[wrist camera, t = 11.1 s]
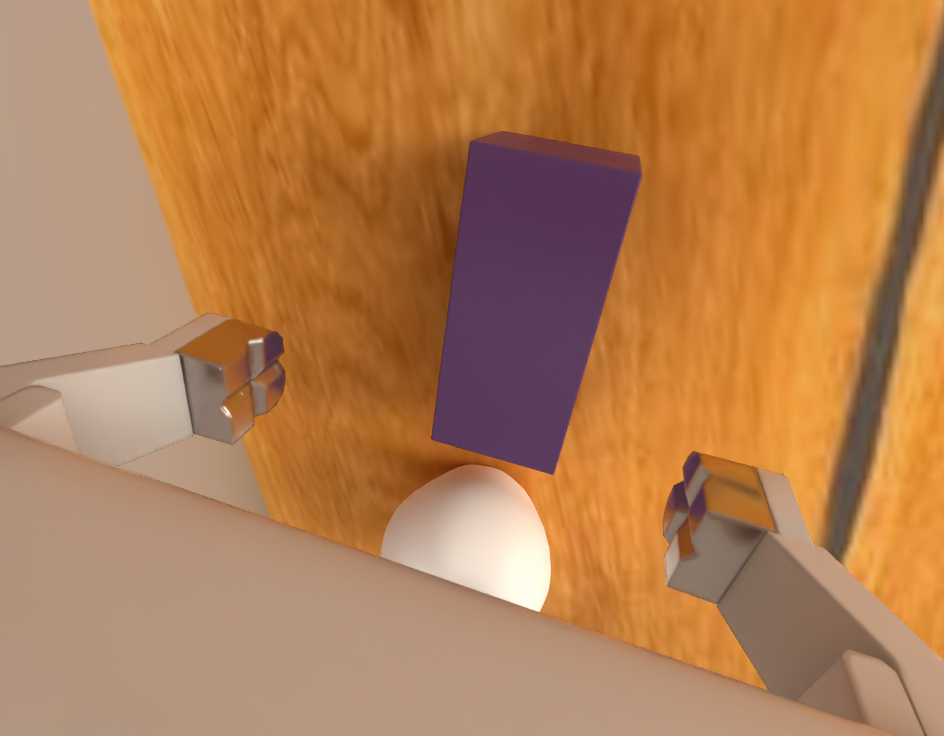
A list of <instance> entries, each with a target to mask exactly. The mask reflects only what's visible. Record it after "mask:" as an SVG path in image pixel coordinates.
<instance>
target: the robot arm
mask: <svg viewBox="0 0 944 736" xmlns="http://www.w3.org/2000/svg"><path fill="white" fill-rule="evenodd" d="M283 353H284V347H283V338H282V337H281V336H280V335H279V333H278V332H275V331H272V330H268V329H265V328H262V327H259V326H255V325H252V324H249V323H246V322H242V321H239V320H236V319H232V318H229V317H226V316H222V315H218V314H215V313H205V314H203V315H202V316H200V317H198V318H196V319H194V320H193V321H191V322H189V323H187V324H185V325H184V326H182V327H180V328H178V329H176V330H174V331H173V332H171V333H169V334H167V335H165V336H163V337H162V338H160V339H158V340H156V341H154V342H153V343H151V344H149V345H147V344H143V343H137V344H131V345H125V346H120V347H113V348H107V349H101V350H96V351H89V352H83V353H77V354H71V355H64V356H59V357H52V358H46V359H40V360H34V361H28V362H22V363H16V364H11V365H4V366H0V736H944V660H942V659H941V658H940V657H939V656H938V655H937V654H936V653H935V652H934V651H933V650H932V649H931V648H930V647H929V646H928V645H926V644H925V643H924V642H923V641H922V640H921V639H920V638H919V637H918V636H917V635H916V634H915V633H914V632H913V631H912V630H911V629H909V628H908V627H907V626H906V625H905V624H904V623H903V622H902V621H901V620H900V619H899V618H898V617H897V616H896V615H895V614H893V613H892V612H891V611H890V610H889V609H888V608H887V607H886V606H885V605H884V604H883V603H882V602H881V601H880V600H879V599H877V598H876V597H875V596H874V595H873V594H872V593H871V592H870V591H869V590H868V589H867V588H866V587H865V586H864V585H863V584H862V583H860V582H859V581H858V580H857V579H856V578H855V577H854V576H853V575H852V574H851V573H850V572H849V571H848V570H847V569H846V568H844V567H843V566H842V565H841V564H840V563H839V562H838V561H837V560H836V559H835V558H834V557H833V556H832V555H831V554H830V553H828V552H827V551H826V550H825V549H824V548H823V547H820V546H817V545H813V542H812V540H811V537H810V535H809V532H808V529H807V527H806V524H805V521H804V519H803V516H802V514H801V511H800V508H799V506H798V503H797V501H796V498H795V495H794V493H793V490H792V488H791V485H790V482H789V480H788V478H787V477H786V476H785V475H784V474H782V473H778V472H774V471H770V470H766V469H762V468H758V467H754V466H749V465H745V464H741V463H737V462H734V461H730V460H726V459H722V458H719V457H715V456H711V455H707V454H703V453H700V452H696V451H693V452H692V453H691V454H690V455H689V456H688V458H687V460H686V462H685V464H684V466H683V476H684V481H682V482H680V483H678V484H676V485H674V486H673V488H672V491H671V493H670V495H669V497H668V499H667V503H666V507H665V511H664V517H663V536H664V537H665V538H666V540H667V541H668V542H669V544H670V545H669V547H668V549H667V551H666V553H665V555H664V558H665V573H666V586H667V587H669V588H672V589H675V590H678V591H681V592H684V593H686V594H689V595H692V596H695V597H698V598H701V599H703V600H706V601H709V602H712V603H715V604H718V605H717V608H718V609H719V611H720V613H721V614H722V616H723V617H724V619H725V621H726V622H727V624H728V626H729V627H730V629H731V630H732V632H733V634H734V635H735V637H736V638H737V640H738V642H739V643H740V645H741V646H742V648H743V650H744V651H745V653H746V654H747V656H748V658H749V659H750V661H751V663H752V664H753V666H754V667H755V669H756V671H757V672H758V674H759V675H760V677H761V679H762V680H763V682H764V683H765V685H766V687H767V688H768V690H769V691H767V690H764V689H761V688H758V687H755V686H752V685H749V684H746V683H744V682H741V681H738V680H735V679H732V678H729V677H726V676H723V675H720V674H718V673H715V672H712V671H709V670H706V669H703V668H700V667H697V666H694V665H691V664H688V663H685V662H683V661H680V660H677V659H674V658H671V657H668V656H665V655H662V654H659V653H656V652H653V651H650V650H648V649H645V648H642V647H639V646H636V645H633V644H630V643H627V642H624V641H621V640H618V639H615V638H613V637H610V636H607V635H604V634H601V633H598V632H595V631H592V630H589V629H587V628H584V627H581V626H578V625H575V624H572V623H569V622H566V621H564V620H561V619H558V618H555V617H552V616H549V615H546V614H544V613H541V612H538V611H535V610H532V609H529V608H526V607H523V606H521V605H518V604H515V603H512V602H509V601H506V600H503V599H500V598H498V597H495V596H492V595H489V594H486V593H483V592H480V591H477V590H475V589H472V588H469V587H466V586H463V585H460V584H457V583H455V582H452V581H449V580H446V579H443V578H440V577H437V576H434V575H432V574H429V573H426V572H423V571H420V570H417V569H414V568H411V567H408V566H405V565H403V564H400V563H397V562H394V561H391V560H388V559H385V558H382V557H379V556H376V555H374V554H371V553H368V552H365V551H362V550H359V549H356V548H353V547H350V546H347V545H345V544H342V543H339V542H336V541H333V540H330V539H327V538H324V537H321V536H318V535H316V534H313V533H310V532H307V531H304V530H301V529H298V528H295V527H292V526H289V525H287V524H284V523H281V522H278V521H275V520H272V519H269V518H266V517H263V516H260V515H258V514H254V513H252V512H249V511H246V510H243V509H240V508H237V507H234V506H232V505H229V504H226V503H223V502H220V501H217V500H214V499H211V498H208V497H206V496H203V495H200V494H197V493H194V492H191V491H188V490H185V489H182V488H179V487H177V486H174V485H171V484H168V483H165V482H162V481H159V480H156V479H153V478H151V477H148V476H145V475H142V474H139V473H136V472H133V471H130V470H128V469H124V468H122V467H119V466H120V465H122V464H125V463H127V462H130V461H132V460H135V459H137V458H140V457H142V456H144V455H147V454H149V453H152V452H154V451H157V450H159V449H162V448H164V447H167V446H169V445H172V444H174V443H177V442H179V441H182V440H184V439H187V438H189V437H191V436H193V434H196V435H200V436H203V437H207V438H210V439H213V440H217V441H221V442H224V443H227V444H230V445H234V444H235V443H236V442H237V441H238V440H239V439H240V438H241V437H242V436H243V435H245V434H246V433H247V432H248V431H249V430H250V429H251V428H252V427H253V426H254V417H256V416H259V415H262V414H266V413H268V412H269V411H271V410H272V409H273V408H274V407H275V406H276V405H277V403H278V401H279V399H280V397H281V395H282V394H283V391H284V386H285V370H284V369H283V367H282V365H281V364H280V362H279V361H278V359H279V357H280V356H281V355H282V354H283Z"/></svg>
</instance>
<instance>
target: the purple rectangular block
mask: <svg viewBox="0 0 944 736" xmlns="http://www.w3.org/2000/svg"><path fill="white" fill-rule="evenodd" d="M641 178H642V171H641V165H640V159H639V156H635V155H630V154H624V153H619V152H614V151H608V150H603V149H597V148H592V147H587V146H581V145H576V144H570V143H565V142H560V141H554V140H549V139H543V138H538V137H533V136H527V135H522V134H516V133H511V132H506V131H501V132H498V133H495V134H492V135H489V136H485V137H482V138H479V139H476V140H473V141H470V145H469V152H468V160H467V168H466V175H465V183H464V191H463V198H462V206H461V214H460V221H459V229H458V237H457V244H456V252H455V260H454V268H453V275H452V283H451V291H450V298H449V306H448V314H447V321H446V329H445V337H444V344H443V352H442V360H441V367H440V375H439V383H438V391H437V398H436V406H435V414H434V421H433V429H432V437H431V439H432V440H434V441H437V442H441V443H444V444H448V445H451V446H455V447H458V448H462V449H465V450H469V451H472V452H476V453H479V454H483V455H486V456H489V457H493V458H496V459H500V460H503V461H507V462H510V463H514V464H517V465H521V466H524V467H528V468H531V469H534V470H538V471H541V472H545V473H548V474H552V475H553V474H554V472H555V469H556V466H557V462H558V459H559V455H560V452H561V449H562V445H563V442H564V439H565V435H566V432H567V428H568V425H569V422H570V418H571V415H572V411H573V408H574V405H575V401H576V398H577V395H578V391H579V388H580V384H581V381H582V378H583V374H584V371H585V367H586V364H587V361H588V357H589V354H590V350H591V347H592V344H593V340H594V337H595V334H596V330H597V327H598V323H599V320H600V317H601V313H602V310H603V306H604V303H605V300H606V296H607V293H608V289H609V286H610V283H611V279H612V276H613V273H614V269H615V266H616V262H617V259H618V256H619V252H620V249H621V245H622V242H623V239H624V235H625V232H626V228H627V225H628V222H629V218H630V215H631V212H632V208H633V205H634V201H635V198H636V195H637V191H638V188H639V184H640V181H641Z"/></svg>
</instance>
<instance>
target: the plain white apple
mask: <svg viewBox="0 0 944 736" xmlns="http://www.w3.org/2000/svg"><path fill="white" fill-rule="evenodd" d="M381 557H382V558H385V559H388V560H391V561H394V562H397V563H400V564H403V565H405V566H408V567H411V568H414V569H417V570H420V571H423V572H426V573H429V574H432V575H434V576H437V577H440V578H443V579H446V580H449V581H452V582H455V583H457V584H460V585H463V586H466V587H469V588H472V589H475V590H477V591H480V592H483V593H486V594H489V595H492V596H495V597H498V598H500V599H503V600H506V601H509V602H512V603H515V604H518V605H521V606H523V607H526V608H529V609H532V610H535V611H538V612H539V611H540V610H541V608H542V605H543V603H544V601H545V598H546V596H547V593H548V590H549V584H550V575H551V565H550V551H549V546H548V542H547V538H546V534H545V530H544V528H543V525H542V523H541V521H540V518H539V516H538V514H537V512H536V509H535V507H534V505H533V503H532V500H531V499H530V497H529V496H528V494H527V493H526V491H525V490H524V489H523V488H522V487H521V486H520V485H519V484H518V483H517V482H516V481H515V480H514V479H512V478H511V477H510V476H509V475H507V474H506V473H504V472H503V471H501V470H498V469H496V468H493V467H488V466H483V465H474V464H472V465H463V466H460V467H458V468H455V469H453V470H450V471H449V472H447V473H445V474H443V475H441V476H439V477H437V478H436V479H434V480H432V481H430V482H428V483H427V484H425V485H424V486H422V487H421V488H419V489H418V490H416V491H414V492H413V493H412V494H411V495H410V496H409V497H407V498H406V499H405V500H404V501H403V502H402V503H401V504H400V505H399V506H398V508H397V509H396V510H395V512H394V514H393V516H392V517H391V519H390V521H389V523H388V525H387V528H386V531H385V534H384V538H383V542H382V548H381Z"/></svg>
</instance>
